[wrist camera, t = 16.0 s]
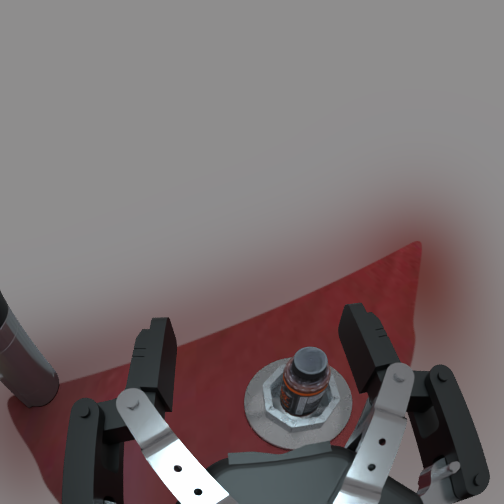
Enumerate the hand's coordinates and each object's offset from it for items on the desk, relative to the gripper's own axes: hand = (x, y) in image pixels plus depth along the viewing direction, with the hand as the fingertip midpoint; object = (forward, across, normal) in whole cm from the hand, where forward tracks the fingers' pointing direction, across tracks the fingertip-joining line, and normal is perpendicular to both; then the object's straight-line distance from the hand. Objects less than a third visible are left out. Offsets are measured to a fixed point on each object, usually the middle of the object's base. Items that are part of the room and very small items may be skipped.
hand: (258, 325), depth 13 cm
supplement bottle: (+9, -7, +29) cm, 31 cm away
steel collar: (+9, -7, +30) cm, 32 cm away
